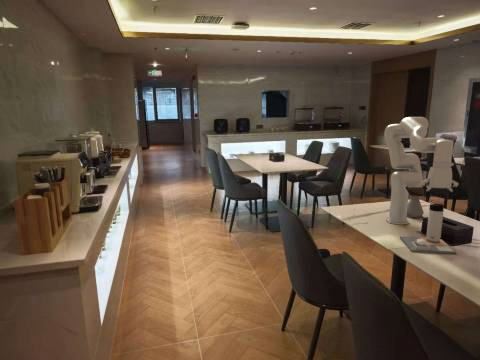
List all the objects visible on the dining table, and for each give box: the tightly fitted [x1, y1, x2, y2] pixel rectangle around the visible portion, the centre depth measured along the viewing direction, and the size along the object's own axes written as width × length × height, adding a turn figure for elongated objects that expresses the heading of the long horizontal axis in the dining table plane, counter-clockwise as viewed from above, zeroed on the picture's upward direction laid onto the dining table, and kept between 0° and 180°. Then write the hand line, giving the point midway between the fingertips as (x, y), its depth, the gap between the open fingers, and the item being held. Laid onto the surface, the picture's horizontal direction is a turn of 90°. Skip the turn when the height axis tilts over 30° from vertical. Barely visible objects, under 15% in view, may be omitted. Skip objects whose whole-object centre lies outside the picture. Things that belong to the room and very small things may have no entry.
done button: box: [416, 239, 426, 246], centre depth 166 cm, size 4×4×2 cm
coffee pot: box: [406, 188, 425, 219], centre depth 221 cm, size 21×12×15 cm, turn 178°
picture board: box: [399, 236, 457, 255], centre depth 170 cm, size 18×20×2 cm
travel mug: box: [425, 203, 445, 243], centre depth 171 cm, size 6×7×20 cm
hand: (437, 198), depth 169 cm, fingers open, 9 cm apart
